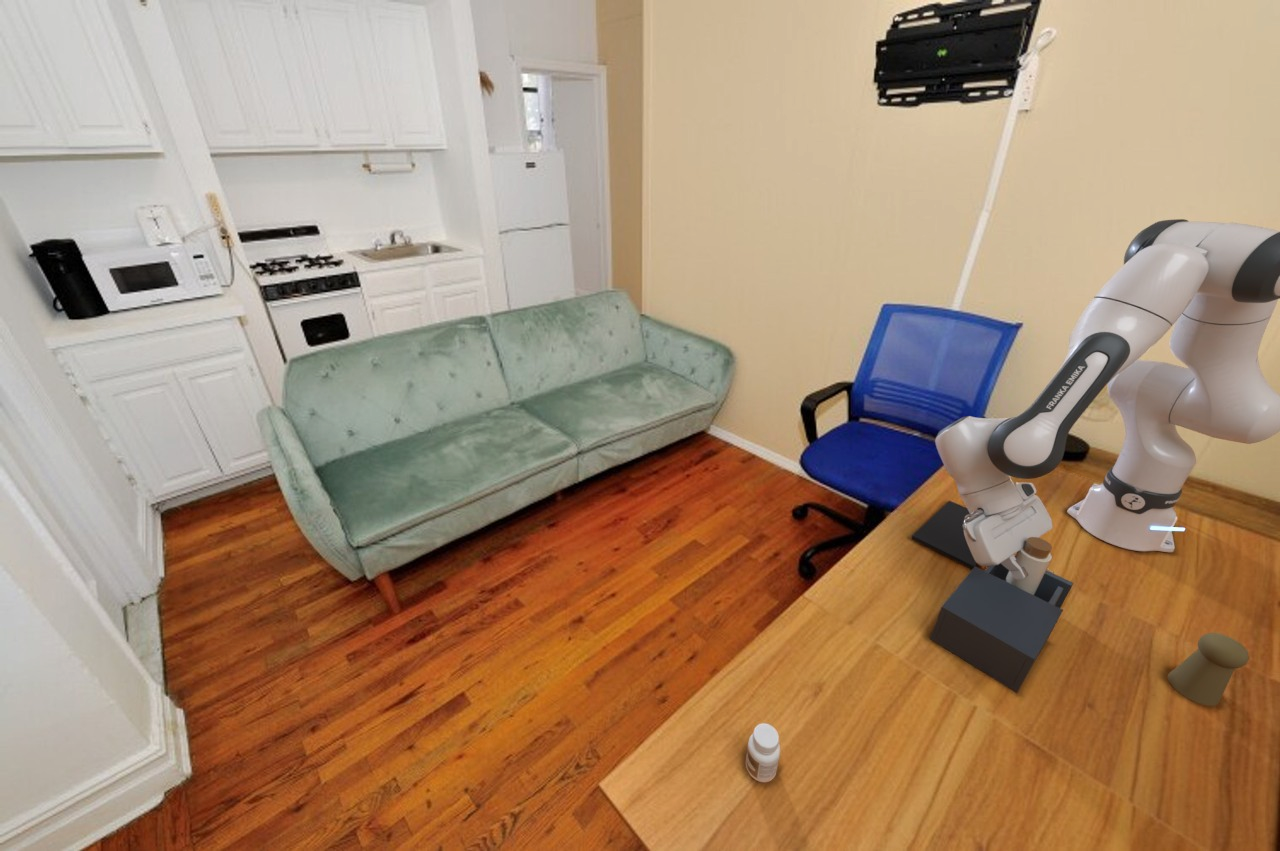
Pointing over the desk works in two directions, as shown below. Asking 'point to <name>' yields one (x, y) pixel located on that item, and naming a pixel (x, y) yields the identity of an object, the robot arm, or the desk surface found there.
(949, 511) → the mat
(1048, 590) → the drawer
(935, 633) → the cabinet
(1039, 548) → the pepper mill
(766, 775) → the pill bottle
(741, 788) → the desk surface
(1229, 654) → the cork
